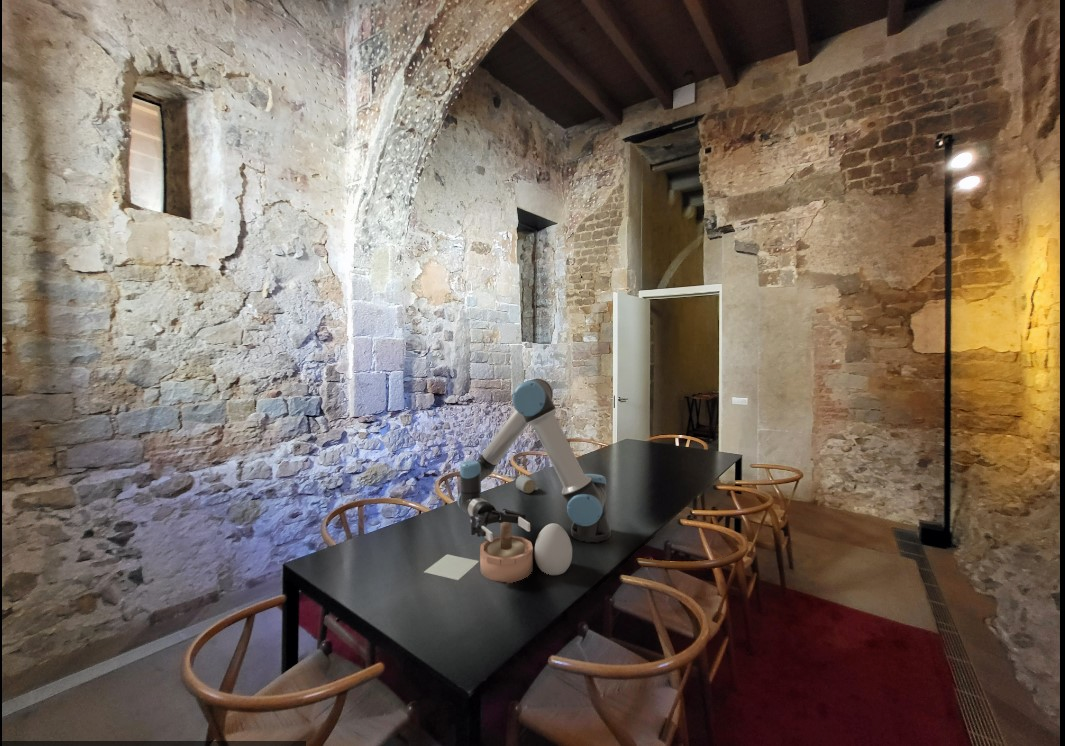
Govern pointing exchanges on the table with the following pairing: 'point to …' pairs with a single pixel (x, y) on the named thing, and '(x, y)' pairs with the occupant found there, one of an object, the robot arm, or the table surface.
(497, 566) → the terracotta bowl
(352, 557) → the table surface
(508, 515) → the robot arm
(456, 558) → the sage mat
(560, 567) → the decorative egg
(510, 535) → the oak lid
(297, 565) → the table surface
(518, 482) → the ceramic mug
